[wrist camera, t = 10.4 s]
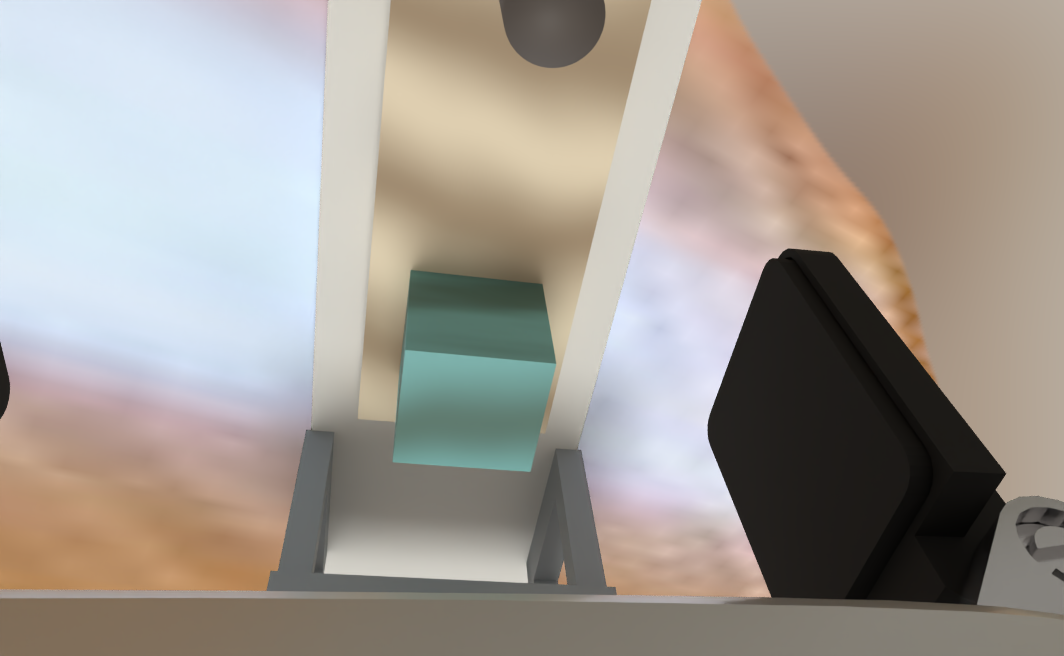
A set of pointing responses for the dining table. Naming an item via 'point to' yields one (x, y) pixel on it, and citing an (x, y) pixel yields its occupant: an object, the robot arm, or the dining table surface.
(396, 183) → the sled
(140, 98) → the dining table surface
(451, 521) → the tunnel board
